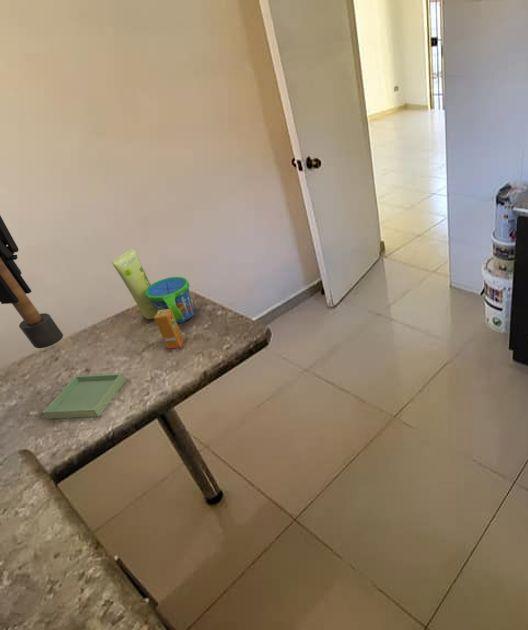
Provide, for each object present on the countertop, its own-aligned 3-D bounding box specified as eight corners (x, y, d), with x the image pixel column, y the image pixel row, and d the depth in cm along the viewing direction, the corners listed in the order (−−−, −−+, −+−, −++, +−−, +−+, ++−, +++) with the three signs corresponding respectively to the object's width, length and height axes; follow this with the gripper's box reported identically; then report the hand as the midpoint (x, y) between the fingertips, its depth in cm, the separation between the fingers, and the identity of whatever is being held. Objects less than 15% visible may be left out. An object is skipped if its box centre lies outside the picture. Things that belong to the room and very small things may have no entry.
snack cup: (161, 307, 126) (146, 277, 120) (200, 298, 129) (187, 268, 123) (158, 337, 114) (142, 306, 108) (201, 326, 117) (187, 295, 111)
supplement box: (182, 347, 111) (166, 315, 105) (168, 349, 110) (151, 317, 104) (185, 339, 113) (170, 308, 107) (171, 341, 113) (156, 309, 107)
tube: (163, 317, 122) (133, 256, 110) (143, 323, 120) (110, 261, 109) (163, 307, 126) (134, 247, 115) (144, 312, 124) (112, 252, 113)
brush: (27, 349, 86) (-41, 259, 74) (45, 333, 90) (-18, 246, 78) (52, 347, 85) (-13, 258, 74) (68, 332, 89) (9, 244, 78)
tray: (47, 418, 93) (42, 412, 92) (80, 381, 102) (75, 375, 101) (99, 416, 93) (94, 409, 91) (126, 379, 102) (122, 373, 101)
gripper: (-98, 188, 61) (5, 321, 75) (-11, 156, 74) (63, 275, 88) (-150, 191, 61) (-38, 323, 75) (-54, 158, 74) (27, 277, 88)
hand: (17, 297), depth 81 cm, fingers closed on brush, 3 cm apart
